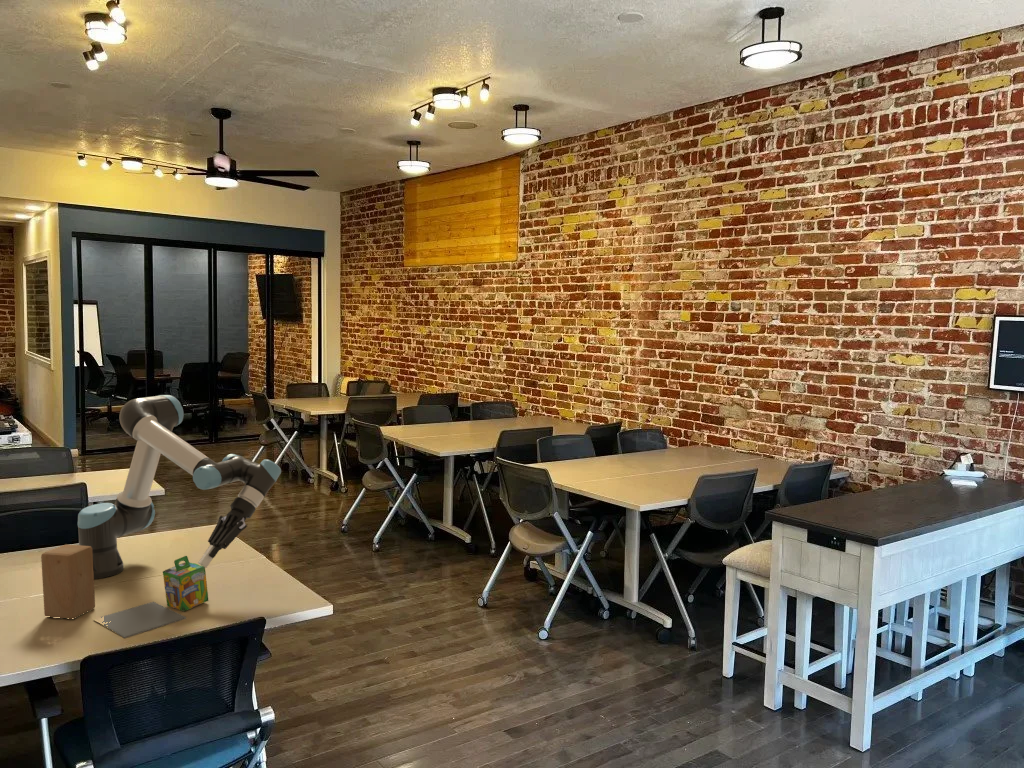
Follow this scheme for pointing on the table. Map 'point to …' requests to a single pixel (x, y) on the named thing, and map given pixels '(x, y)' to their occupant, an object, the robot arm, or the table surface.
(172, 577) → the chalk box
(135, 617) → the mat
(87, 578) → the wooden block
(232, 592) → the table surface
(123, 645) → the table surface
